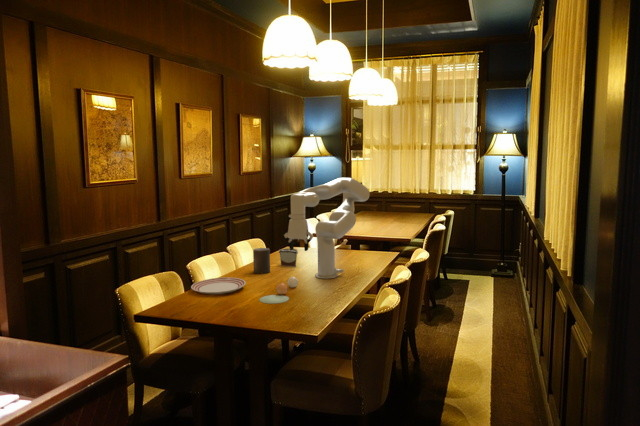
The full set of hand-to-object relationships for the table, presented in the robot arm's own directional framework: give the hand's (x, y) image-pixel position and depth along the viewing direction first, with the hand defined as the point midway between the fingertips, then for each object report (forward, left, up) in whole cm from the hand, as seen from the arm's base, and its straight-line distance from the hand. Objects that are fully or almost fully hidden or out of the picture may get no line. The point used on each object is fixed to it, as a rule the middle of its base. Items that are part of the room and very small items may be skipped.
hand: (298, 250), depth 267 cm
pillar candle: (+17, -31, -18) cm, 40 cm away
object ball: (+12, +20, -15) cm, 28 cm away
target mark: (+17, +28, -18) cm, 37 cm away
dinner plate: (+42, +2, -18) cm, 46 cm away
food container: (-2, -45, -18) cm, 49 cm away
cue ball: (+5, +8, -15) cm, 18 cm away
